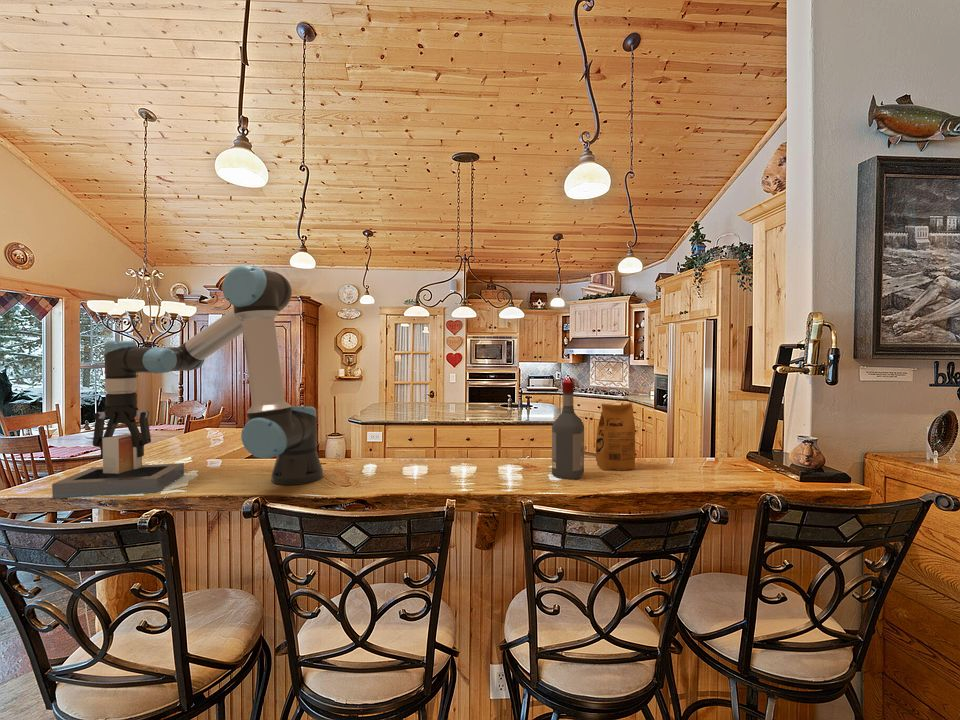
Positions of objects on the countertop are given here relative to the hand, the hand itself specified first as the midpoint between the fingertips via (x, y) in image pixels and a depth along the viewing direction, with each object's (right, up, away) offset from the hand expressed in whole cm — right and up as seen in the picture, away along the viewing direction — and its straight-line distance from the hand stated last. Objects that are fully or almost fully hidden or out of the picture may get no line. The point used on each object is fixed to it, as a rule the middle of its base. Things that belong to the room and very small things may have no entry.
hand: (123, 468), depth 141 cm
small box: (0, -1, 0) cm, 1 cm away
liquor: (+136, -5, +10) cm, 136 cm away
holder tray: (0, -5, 0) cm, 5 cm away
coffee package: (+154, -4, +20) cm, 155 cm away
